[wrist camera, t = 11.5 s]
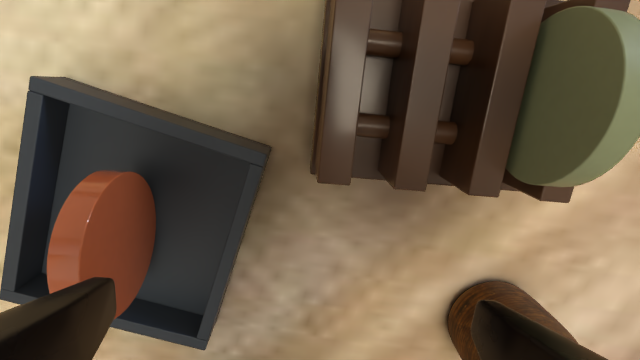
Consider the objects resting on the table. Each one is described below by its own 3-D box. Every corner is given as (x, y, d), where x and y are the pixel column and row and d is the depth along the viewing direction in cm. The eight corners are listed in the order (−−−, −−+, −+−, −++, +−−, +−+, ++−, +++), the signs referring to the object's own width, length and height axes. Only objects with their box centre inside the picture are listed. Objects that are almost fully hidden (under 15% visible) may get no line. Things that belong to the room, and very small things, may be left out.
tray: (215, 323, 22) (204, 350, 20) (32, 276, 21) (-2, 299, 18) (272, 146, 19) (267, 154, 17) (64, 76, 18) (29, 75, 16)
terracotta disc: (158, 270, 21) (87, 359, 14) (137, 269, 21) (56, 358, 14) (154, 158, 19) (70, 198, 12) (132, 156, 19) (35, 195, 12)
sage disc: (502, 166, 18) (618, 212, 12) (481, 164, 18) (585, 209, 12) (536, 26, 17) (696, -15, 10) (512, 24, 16) (658, -20, 10)
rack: (512, 186, 21) (570, 213, 16) (309, 169, 20) (311, 193, 15) (557, 7, 18) (642, -20, 14) (327, -22, 17) (335, -60, 13)
